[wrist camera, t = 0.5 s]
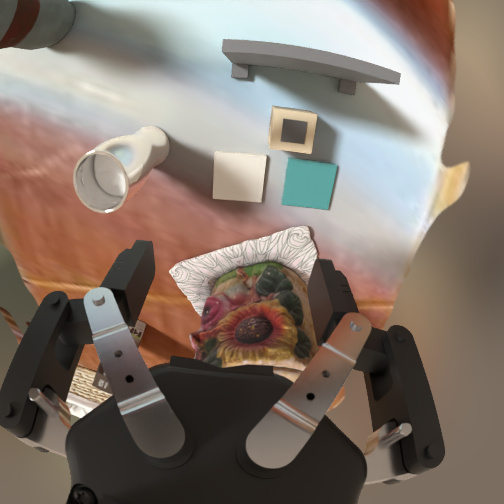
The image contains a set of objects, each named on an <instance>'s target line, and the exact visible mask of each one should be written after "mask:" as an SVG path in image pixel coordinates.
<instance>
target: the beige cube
mask: <svg viewBox="0 0 504 504" xmlns="http://www.w3.org/2000/svg"><path fill="white" fill-rule="evenodd" d="M316 121H317V114H315V113H313V112H311V111H307V110H301V109H294V108H287V107H279V106H272V110H271V119H270V128H269V137H268V143H269V147H270V149H276V150H285V151H293V152H300V153H308V154H311V153H312V147H313V140H314V134H315V128H316Z"/></svg>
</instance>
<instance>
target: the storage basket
mask: <svg viewBox="0 0 504 504" xmlns="http://www.w3.org/2000/svg"><path fill="white" fill-rule="evenodd" d="M95 375H96V372H94V371H93V370H90V369H87V368H83V367H79V366H77V368H76V371H75V374H74V377H73V380H72V383H71V386H70V390H69V393H68V396H67V400H66V405H67V406H68V408H69V410H70V413H71V414H73V415H75V416H77V417H80V418H82V417H83V416H85V415H86V414H87V413H89V412H90V411H92V410H93V409H94V408H96V407H97V406H98V405H100V404H101V403H102V402H104V401H105V400H107V399H108V398H109V397H111V396H112V394H108V393H106V392H104V391H102V390H100V389H98V388H96V387H94V386H92V384H93V381H94V378H95ZM67 402H68V403H67Z"/></svg>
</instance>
